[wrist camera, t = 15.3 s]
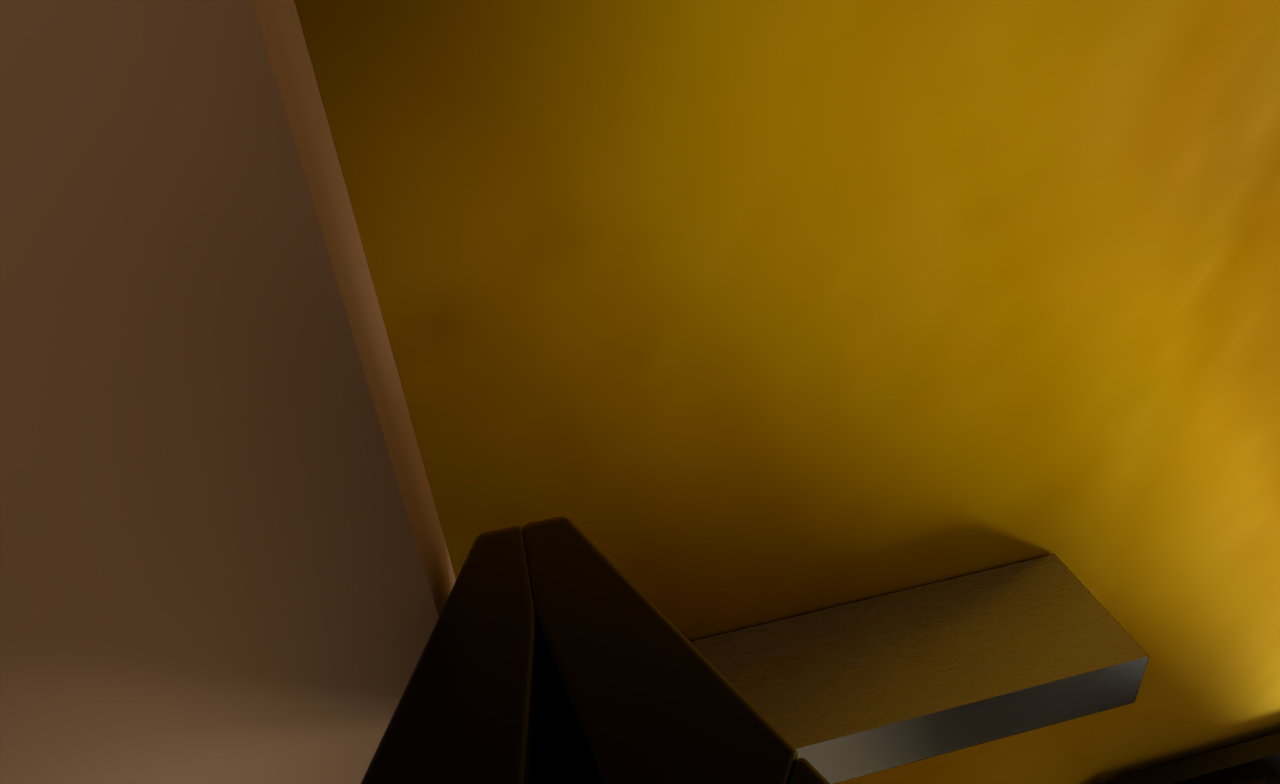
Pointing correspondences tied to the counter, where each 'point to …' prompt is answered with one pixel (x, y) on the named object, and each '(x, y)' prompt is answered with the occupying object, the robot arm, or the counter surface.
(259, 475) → the board
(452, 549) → the counter surface
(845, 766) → the track
